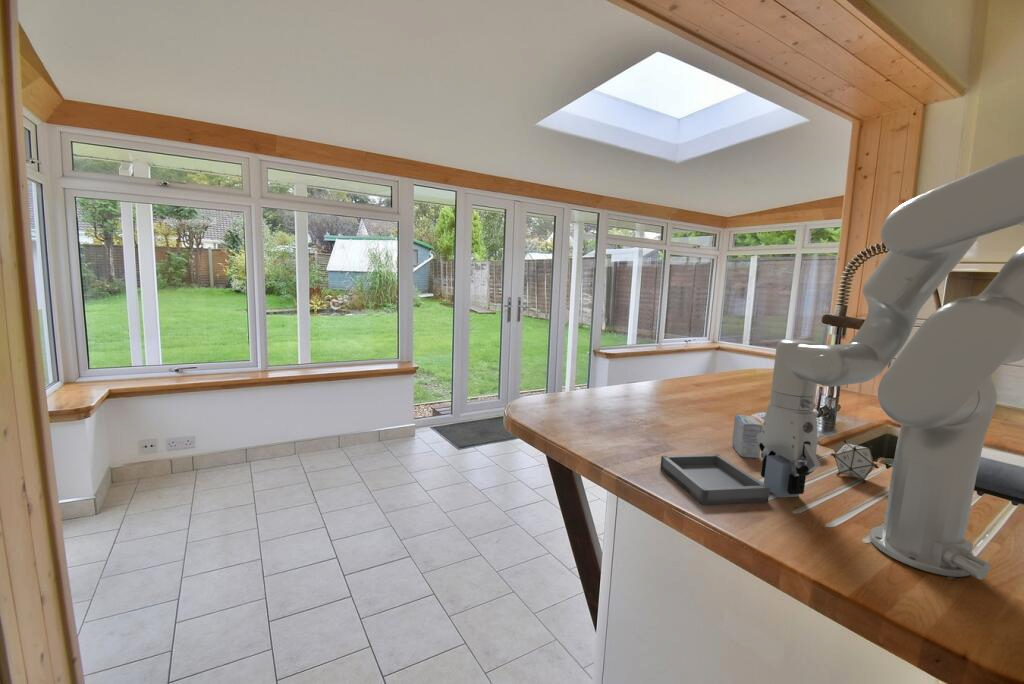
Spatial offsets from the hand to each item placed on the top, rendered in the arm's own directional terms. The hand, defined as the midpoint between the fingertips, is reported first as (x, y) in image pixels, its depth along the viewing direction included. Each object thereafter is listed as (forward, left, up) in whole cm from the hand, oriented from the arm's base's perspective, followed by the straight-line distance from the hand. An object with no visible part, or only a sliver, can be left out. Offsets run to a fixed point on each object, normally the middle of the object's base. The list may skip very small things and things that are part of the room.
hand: (781, 484), depth 94 cm
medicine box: (+21, -7, -2) cm, 22 cm away
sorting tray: (+4, +13, -2) cm, 14 cm away
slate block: (0, 0, -2) cm, 2 cm away
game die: (+5, -22, -2) cm, 23 cm away
